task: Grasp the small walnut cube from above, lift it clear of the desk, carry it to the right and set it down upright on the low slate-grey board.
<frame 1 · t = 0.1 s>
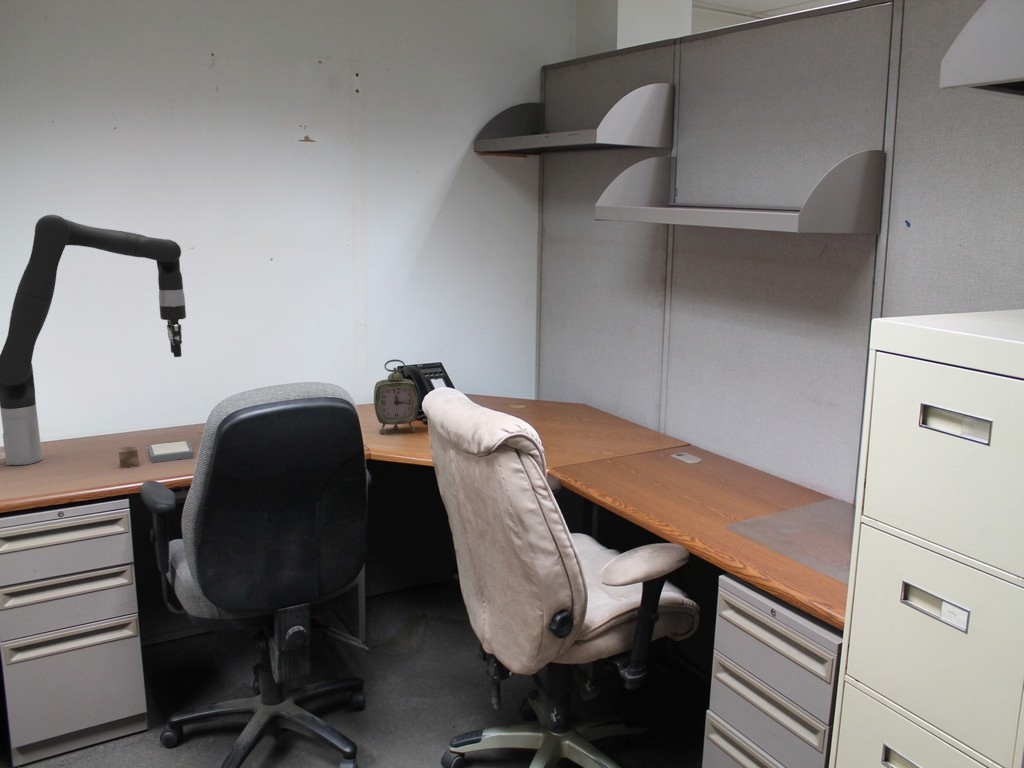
hand: (176, 354, 267), 29 cm above the table, tool pointing down, fingers open, 8 cm apart
cube: (129, 465, 250), on the table
board: (170, 454, 260), on the table
tabletop clock: (396, 431, 289), on the table
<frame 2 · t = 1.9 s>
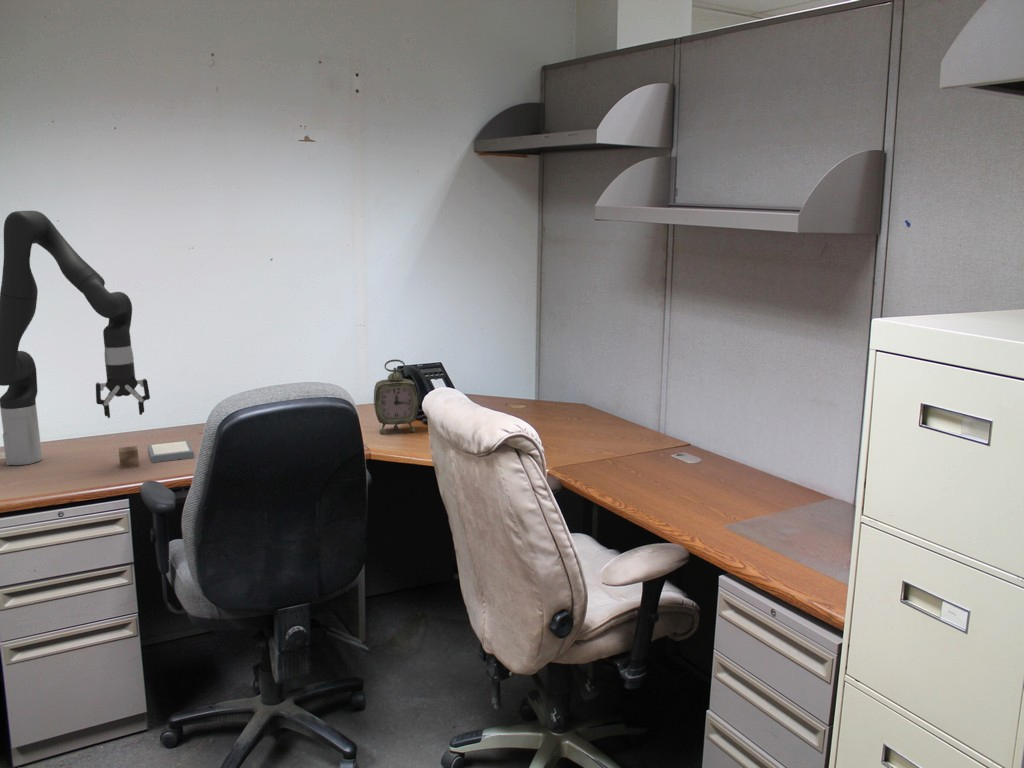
hand: (125, 415, 247), 15 cm above the table, tool pointing down, fingers open, 8 cm apart
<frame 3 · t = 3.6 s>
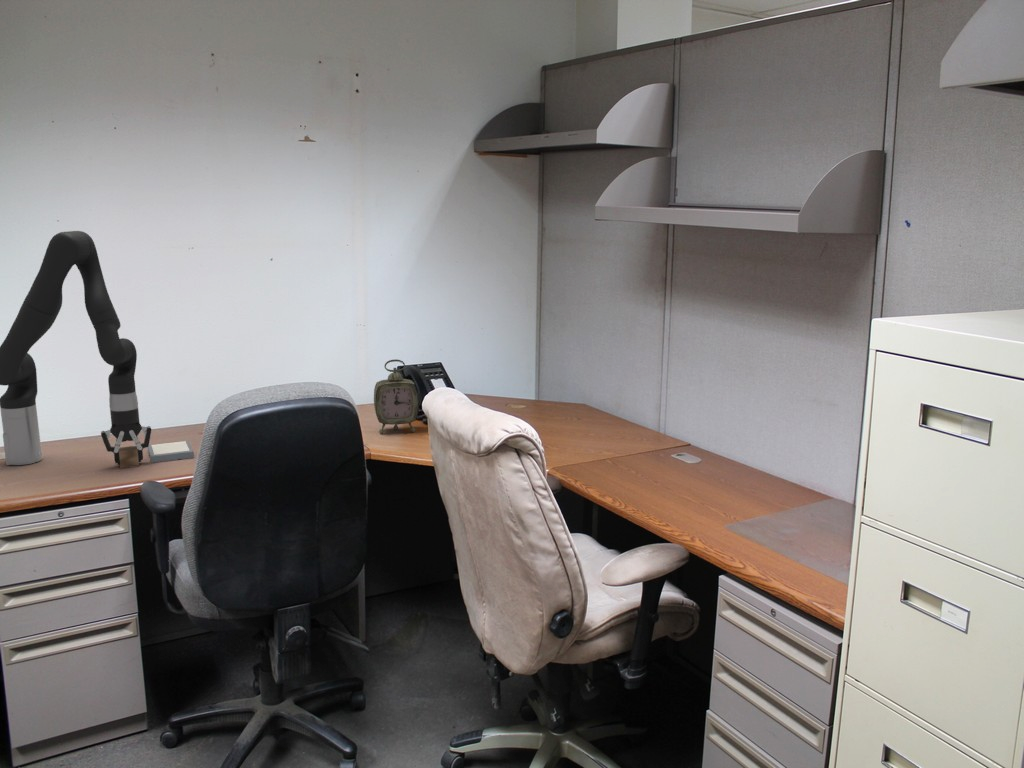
hand: (129, 462, 250), 1 cm above the table, tool pointing down, fingers closed on cube, 5 cm apart
cube: (129, 464, 250), on the table, touching gripper
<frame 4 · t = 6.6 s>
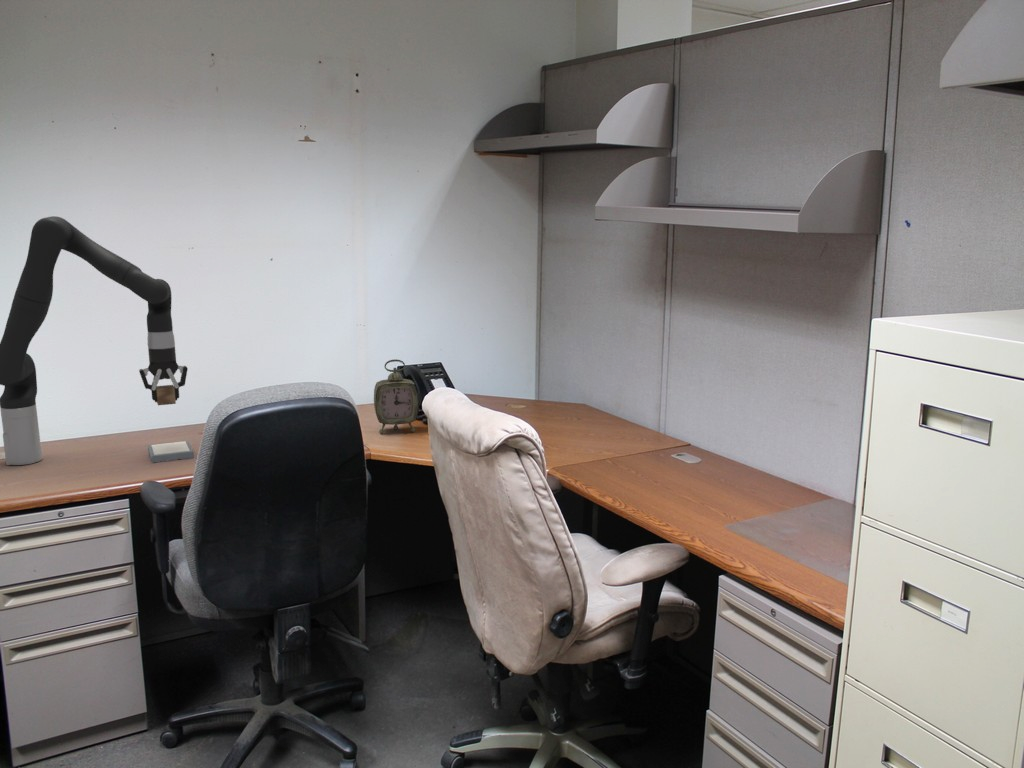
hand: (166, 400, 257), 17 cm above the table, tool pointing down, fingers closed on cube, 5 cm apart
cube: (166, 402, 257), point 16 cm above the table, touching gripper
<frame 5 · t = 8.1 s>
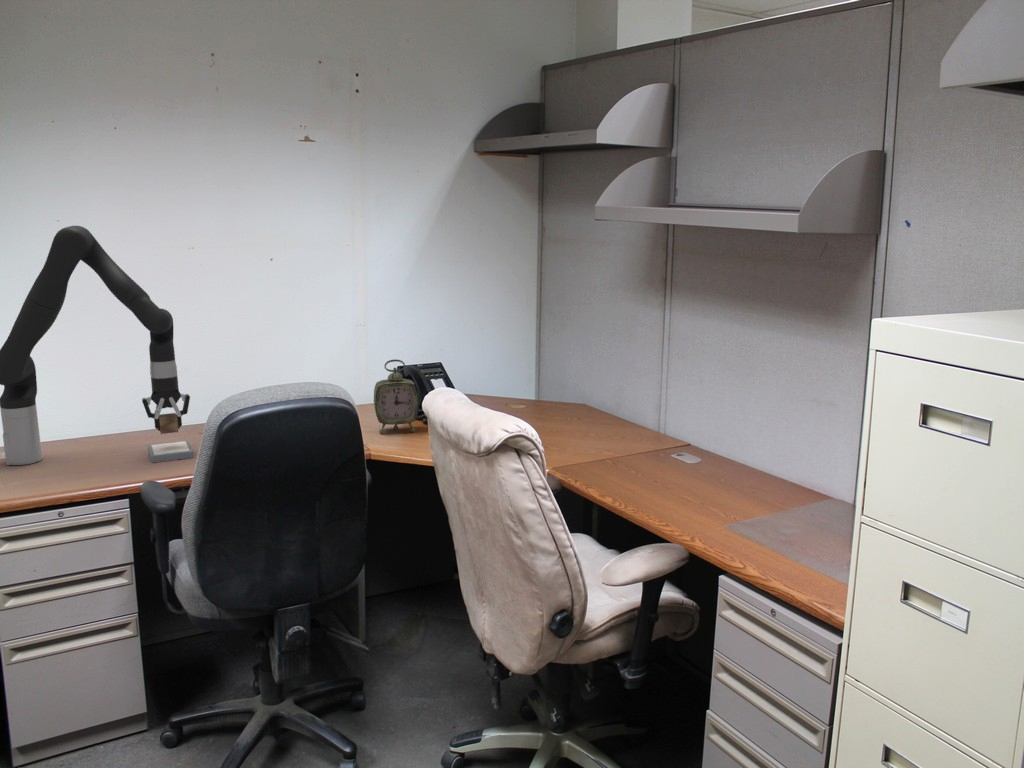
hand: (168, 428, 259), 8 cm above the table, tool pointing down, fingers closed on cube, 5 cm apart
cube: (168, 431, 259), point 8 cm above the table, touching gripper
when the fingers open (4 cm above the table, at t = 9.4 s): cube drops 1 cm, resting on board.
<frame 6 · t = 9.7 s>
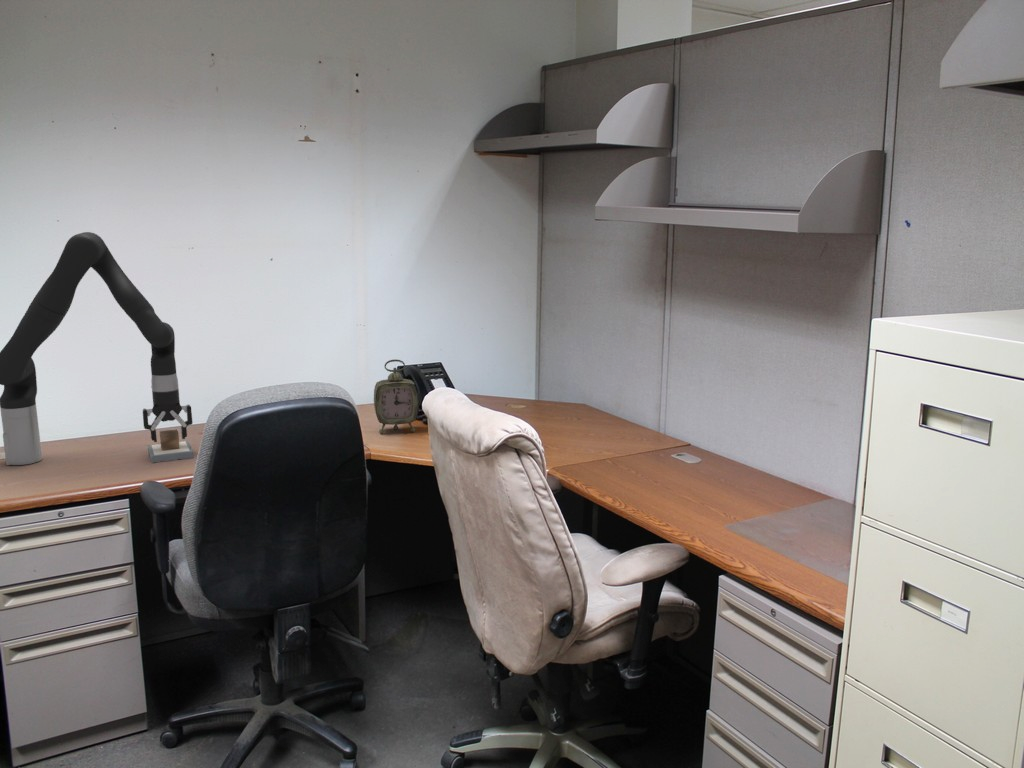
hand: (169, 440, 259), 5 cm above the table, tool pointing down, fingers open, 7 cm apart
cube: (170, 447, 260), point 2 cm above the table, touching board
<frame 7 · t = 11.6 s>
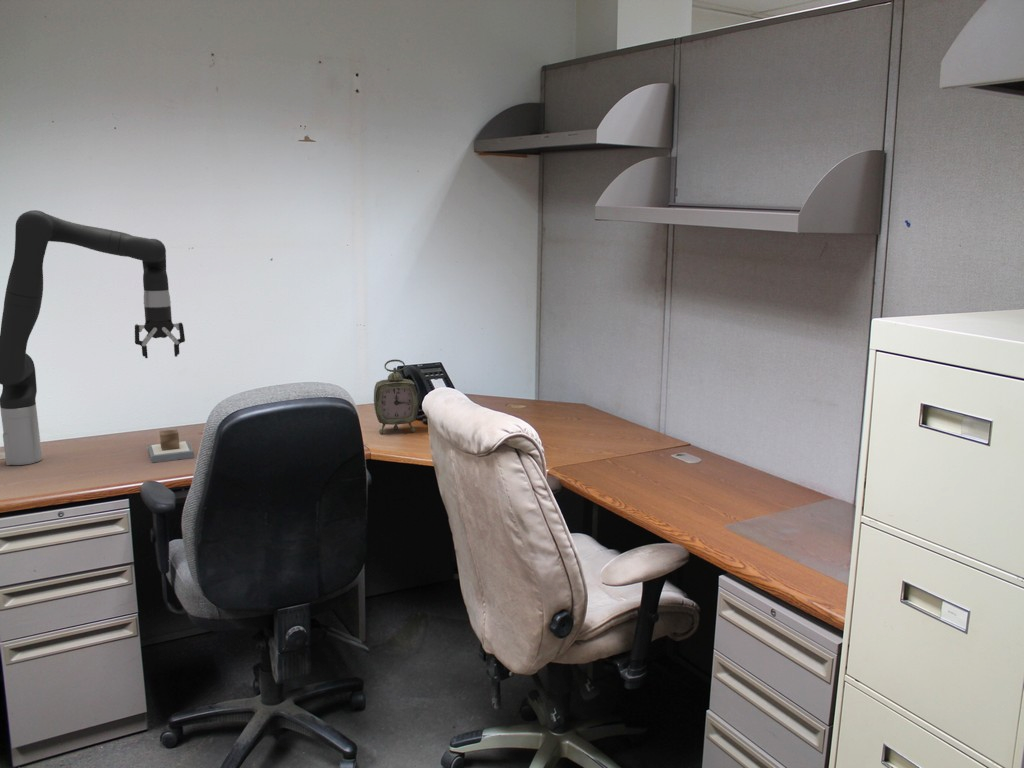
hand: (161, 357, 261), 30 cm above the table, tool pointing down, fingers open, 8 cm apart
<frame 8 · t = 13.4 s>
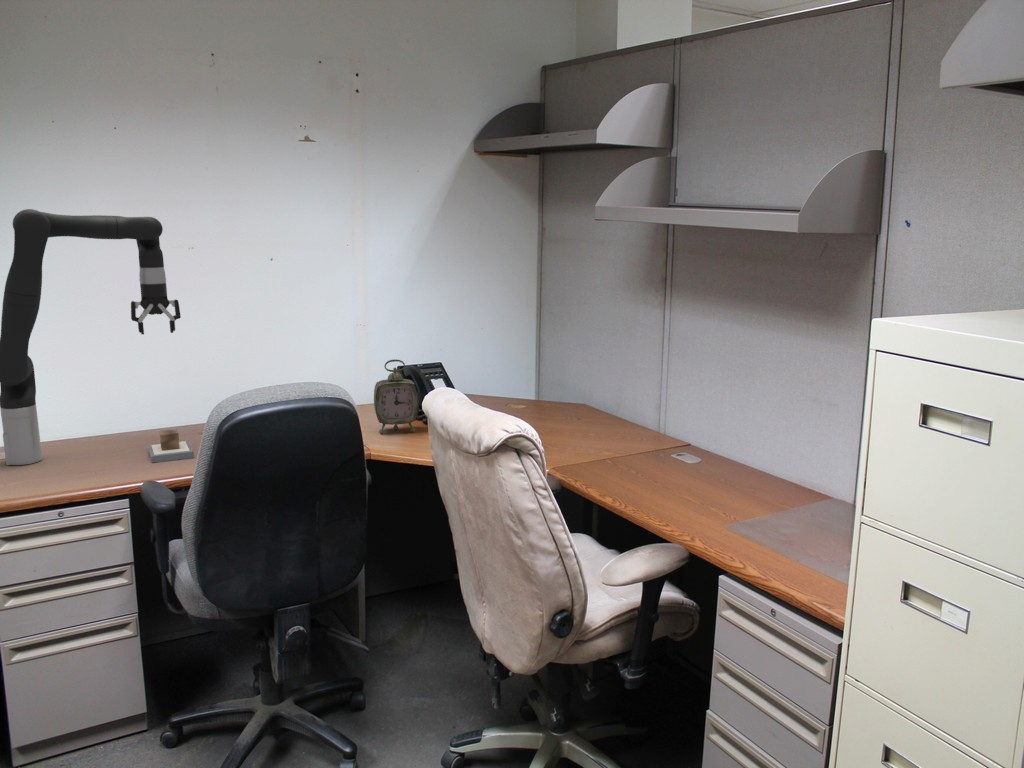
hand: (157, 333, 265), 36 cm above the table, tool pointing down, fingers open, 8 cm apart
at the end: cube inside the target area on the board (0.0 cm from its centre), point 2.2 cm above the board's base; cube tilted 0°; the gripper is holding nothing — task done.
